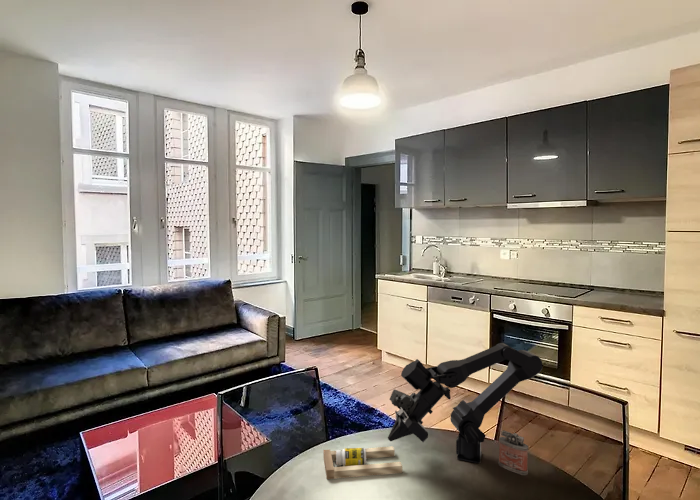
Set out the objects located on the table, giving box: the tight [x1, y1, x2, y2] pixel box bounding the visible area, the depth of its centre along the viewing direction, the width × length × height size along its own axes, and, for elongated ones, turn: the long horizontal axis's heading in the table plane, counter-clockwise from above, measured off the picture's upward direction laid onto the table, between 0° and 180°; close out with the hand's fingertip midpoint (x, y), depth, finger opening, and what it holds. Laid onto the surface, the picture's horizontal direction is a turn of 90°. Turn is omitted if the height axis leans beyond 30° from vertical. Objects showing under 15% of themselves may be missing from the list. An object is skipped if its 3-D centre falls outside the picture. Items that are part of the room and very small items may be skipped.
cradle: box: [323, 445, 403, 480], centre depth 118 cm, size 21×11×2 cm, turn 98°
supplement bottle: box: [335, 447, 367, 467], centre depth 118 cm, size 5×5×8 cm
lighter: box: [498, 430, 529, 476], centre depth 116 cm, size 8×3×10 cm, turn 47°
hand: (389, 439), depth 119 cm, fingers closed
